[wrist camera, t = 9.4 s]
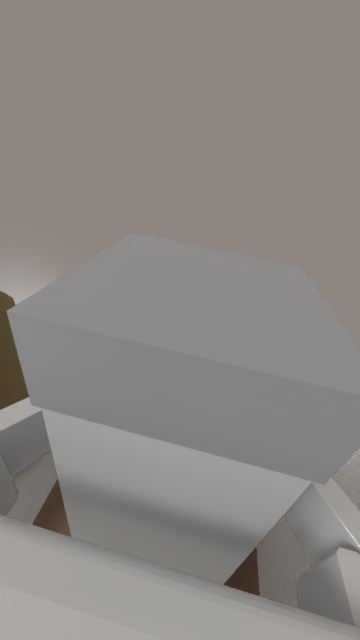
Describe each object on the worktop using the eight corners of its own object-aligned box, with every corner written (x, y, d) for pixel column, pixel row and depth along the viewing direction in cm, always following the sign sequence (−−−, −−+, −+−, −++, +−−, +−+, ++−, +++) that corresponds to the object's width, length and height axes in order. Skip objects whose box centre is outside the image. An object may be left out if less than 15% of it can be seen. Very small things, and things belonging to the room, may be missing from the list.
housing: (75, 571, 10) (6, 310, 3) (124, 447, 14) (134, 232, 8) (204, 613, 9) (399, 404, 3) (214, 472, 14) (302, 266, 7)
